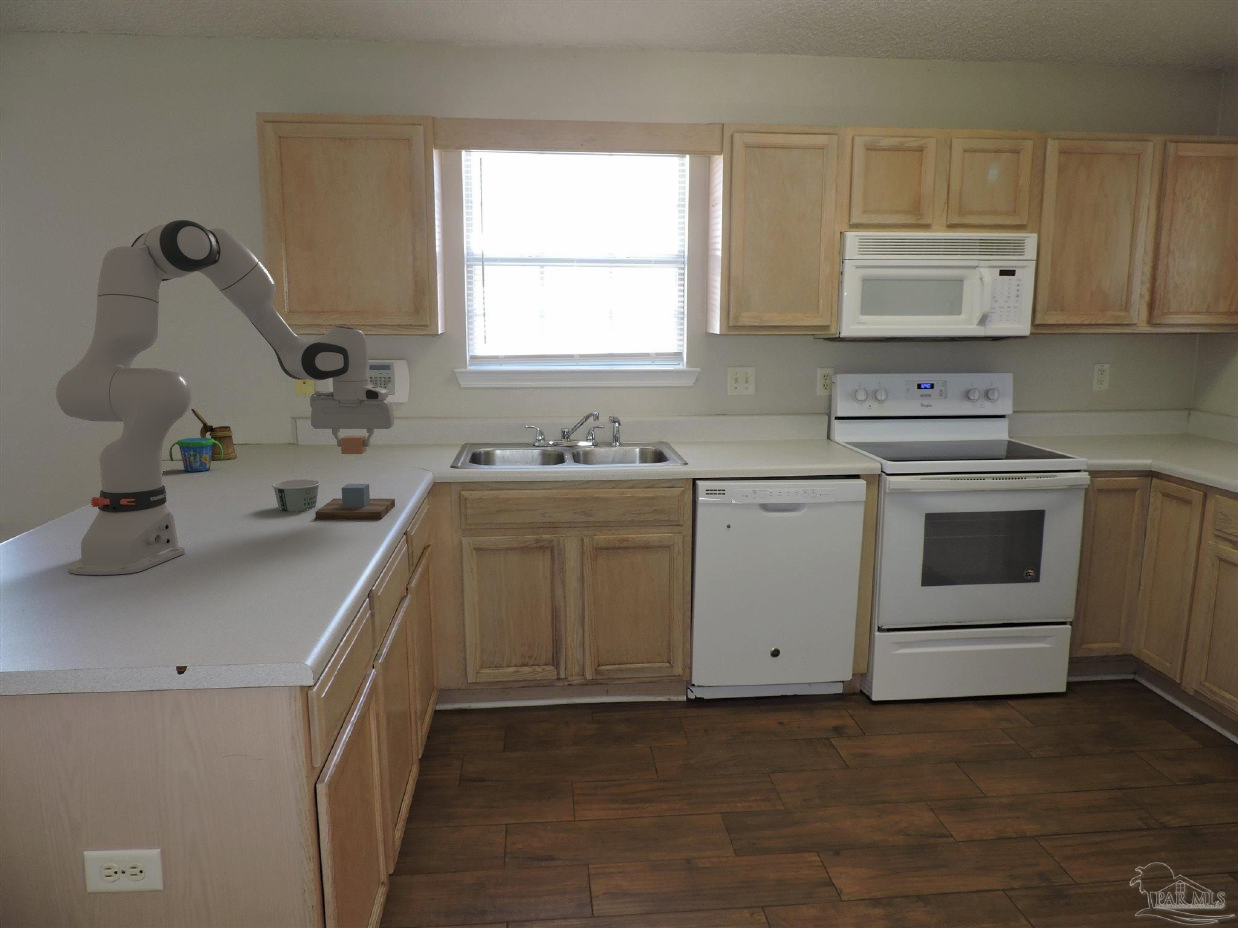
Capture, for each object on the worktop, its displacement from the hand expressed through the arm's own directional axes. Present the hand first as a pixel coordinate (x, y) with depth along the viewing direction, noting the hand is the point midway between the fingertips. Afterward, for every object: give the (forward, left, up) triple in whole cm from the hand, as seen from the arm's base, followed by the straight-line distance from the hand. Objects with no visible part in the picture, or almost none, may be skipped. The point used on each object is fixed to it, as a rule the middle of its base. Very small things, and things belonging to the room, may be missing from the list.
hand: (353, 446), depth 221 cm
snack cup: (+62, +67, -17) cm, 93 cm away
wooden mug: (+86, +71, -17) cm, 113 cm away
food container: (+6, +17, -18) cm, 25 cm away
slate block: (0, 0, -15) cm, 15 cm away
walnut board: (0, 0, -17) cm, 17 cm away
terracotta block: (0, 0, -2) cm, 2 cm away
